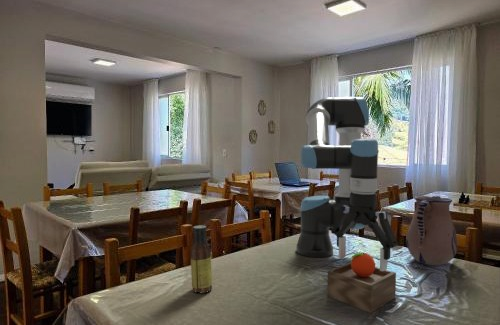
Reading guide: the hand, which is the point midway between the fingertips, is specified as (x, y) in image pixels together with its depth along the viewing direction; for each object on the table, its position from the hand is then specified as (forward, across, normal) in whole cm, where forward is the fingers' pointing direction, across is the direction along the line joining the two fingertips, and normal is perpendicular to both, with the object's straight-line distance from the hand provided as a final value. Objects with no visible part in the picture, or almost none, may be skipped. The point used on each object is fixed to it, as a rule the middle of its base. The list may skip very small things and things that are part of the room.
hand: (361, 263), depth 103 cm
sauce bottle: (+10, -35, -33) cm, 49 cm away
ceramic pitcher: (+11, +2, +46) cm, 47 cm away
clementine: (+4, 0, 0) cm, 4 cm away
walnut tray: (+10, 0, 0) cm, 10 cm away
